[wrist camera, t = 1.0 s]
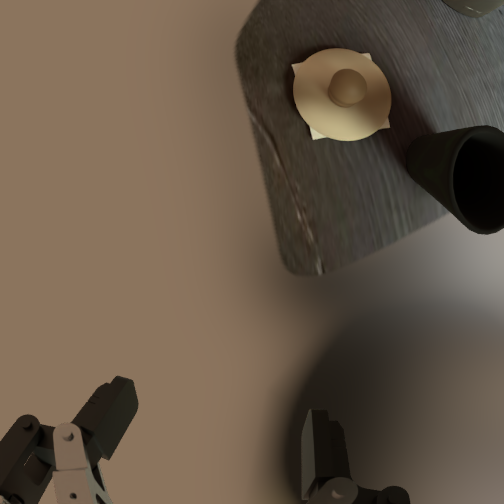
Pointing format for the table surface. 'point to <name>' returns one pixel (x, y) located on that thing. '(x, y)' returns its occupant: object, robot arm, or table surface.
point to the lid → (342, 94)
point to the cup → (463, 174)
